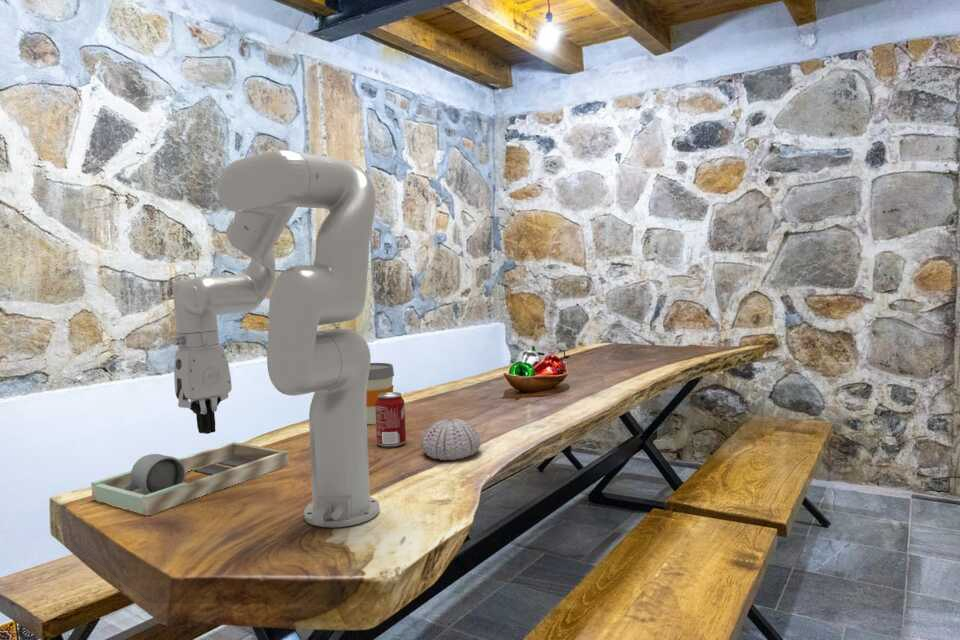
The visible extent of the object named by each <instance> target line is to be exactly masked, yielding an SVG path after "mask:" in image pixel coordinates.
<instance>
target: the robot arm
mask: <svg viewBox="0 0 960 640" xmlns="http://www.w3.org/2000/svg"><path fill="white" fill-rule="evenodd" d="M370 178H371V177H369V175H368V174H367V173H366V171H365V170H363V169H362V168H361V167H360V166H358V165H357V164H355V163H354V162H353V163H352V162H350V161H348V160H345V159H341V158H338V157H333V156H328V155H327V156H326V155H322V154H321V155H320V154H313V153H307V152H301V151H296V150H295V151H294V150H285V149H283V150H281V149H279V150H272V151H268V152H264V153H259V154H256V155H252V156H247V157H243V158H241V159H236V160H233V162H231V163H229V164H227V165H226V166H225V167H224V169H223V170H222V171H221V173H220V176H219V178H218V181H217V186H216V192H217V197H218V201H219V202H220V204H221V205H222V207H224V208H225V209H226V210H228V211H230V212H232V213H234V214H233V216H232V218H231V220H230V222H229V224H228V226H227V227H226V231H225V234H226V239H227V240H228V242H229V244H230V245H231V246H232V247H233V248H234V249H235V250H237V252H239V253H240V254H242V255H244V256H245V257H248V258H249V259H251V260H250V262H249V263H248V266H247V267H246V269H245V270H244V272H243V273H242V274H217V275H202V276H197V277H195V278H189V279H187V278H186V279H180V280H177V281H175V282H174V283H173V285H172V295H173V296H172V297H173V307H174V315H175V327H176V337H174V338H172V344H173V345H174V346H177V349H178V350H175V355H174V366H173V367H174V368H173V375H174V376H173V379H174V391H175V397H176V399H178V403H177V406H178V408H183V409H189V410H191V411H192V413H193V414H195V415H196V417H195V418H196V425H197V430H198V433H199V434H208V435H209V434H212V433H216V417H215V413H216V412H217V410H218V406H219V405H220V403H221V402H222V401H225V400H226V399H228V398H229V394H230V392H231V391H232V390H233V389H232V387H233V386H232V378H231V377H232V376H231V370H230V366H229V365H230V364H229V361H228V358H227V357H228V356H227V353H226V351H225V347H224V346H223V345H220V339H219V329H218V327H219V326H218V318H217V316H220V315H222V316H223V315H227V314H228V315H229V314H238V313H239V314H242V313H249V312H251V311H253V310H255V309H256V308H258V307H259V306H260V305H261V303H263V301H264V300H265V298H266V297H267V295H268V294H269V292H270V295H269V303H268V304H269V305H268V307H269V308H268V325H267V326H268V329H267V345H266V346H267V350H266V351H267V354H266V364H267V372H268V376H269V379H270V382H271V383H272V386H273V387H274V388H275V389H276V390H277V391H278V392H279V393H281V394H283V395H286V396H292V397H294V396H301V395H306V394H311V393H314V394H313V396H312V398H311V401H310V405H309V410H308V411H309V414H308V425H309V426H308V428H309V445H310V446H309V447H310V468H311V469H310V471H311V490H312V502H311V503H309V504H308V505H306V507H305V508H304V510H303V519H304V521H306V522H307V523H308V524H310V525H313V526H315V527H321V528H344V527H350V526H355V525H359V524H362V523H365V522H367V521H370V520H372V519H373V518H375V517H376V516H377V515H378V514H379V513H380V503H379V501H378V500H377V499H376V498H373V497H372V496H371V493H370V473H369V472H370V471H369V470H370V469H369V444H368V443H369V442H368V439H369V438H368V425H367V408H366V397H367V384H368V377H369V370H370V363H371V352H370V348H369V344H368V343H367V341H366V339H365V338H364V337H363V336H362V335H361V334H359V332H357V331H354V330H351V329H346V328H331V329H323V330H318V326H322V325H330V324H337V323H344V322H348V321H352V320H354V319H357V318H358V317H359V316H360V315H361V314H362V313H363V311H364V308H365V304H366V300H367V299H366V297H367V285H368V271H369V258H370V241H371V240H370V239H371V233H372V228H373V224H374V223H373V222H374V218H375V212H376V192H375V188H374V185H373V182H372V180H371V179H370ZM297 208H309V209H325V210H327V211H329V213H328V214H327V216H326V217H325V218H324V220H323V221H322V223H321V225H320V227H319V229H318V232H317V233H316V234H317V235H316V240H315V256H314V261H313V264H304V265H295V266H291V267H289V268H285V270H283V271H282V272H280V274H279V275H277V277H276V260H275V256H274V253H273V248H274V247H275V245H276V244H277V242H278V240H279V239H280V237H281V235H282V233H283V231H284V230H285V229H286V226H287V225H288V223H289V222H290V220H291V218H292V217H293V215H294V213H295V212H296V210H297Z"/></svg>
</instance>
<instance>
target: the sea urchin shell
mask: <svg viewBox="0 0 960 640" xmlns="http://www.w3.org/2000/svg"><path fill="white" fill-rule="evenodd" d="M480 437H481V436H480V435H479V433H478V432H477V430H476V429H475V428H474V427H473V425H471V424H469V422H467V421H465V420H462V419H458V418H446V419H441V420H438V421H436V422H434V423H433V424H432V425H430V427H428V429H427V430H426V432H424V434H423V435H422V437H421V440H420V446H421V448H420V449H421V450H422V451H423V452H424V454H426V456H427V457H428V456H429V458H432V459H435V460H440V461H448V460H449V461H456V460H463V459H465V458H468V457H470V456H473V455H474V454H475V453H476V452H478V451H479V449H480V447H481V444H482V442H481V441H482V440H481V439H480Z"/></svg>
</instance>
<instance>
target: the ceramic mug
mask: <svg viewBox="0 0 960 640" xmlns="http://www.w3.org/2000/svg"><path fill="white" fill-rule="evenodd" d="M178 459H179V458H177V457H174V456H170V455H163V454H160V453H151V454H146V455H144V456H142V457H140V458H139V459H138V460H137V461H136V462H135V463H134V464H133V466H132V469H131V470H130V471H131V479H132V482H130V483H129V484H128V485H126V486H125V487H124V488H123V489H124V490H127V491H131V492H133V491H134V490H135V491H134V492H135V493H139V494H143V495H147V494H150V493H153V492H156V491H159V490H162V489H165V488H168V487H171V486H174V485H177V484H180V483H183V482H184V483H185V481H186V473H185V468H184V465H183V464H182V462H181V461H180V460H178ZM135 488H137V489H135Z"/></svg>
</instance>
